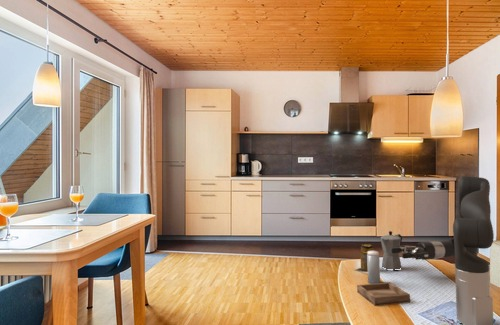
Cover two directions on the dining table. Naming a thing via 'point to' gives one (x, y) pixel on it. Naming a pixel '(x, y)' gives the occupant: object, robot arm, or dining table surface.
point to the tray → (383, 293)
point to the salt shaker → (373, 267)
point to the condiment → (364, 257)
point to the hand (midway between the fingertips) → (397, 253)
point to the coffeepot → (390, 258)
